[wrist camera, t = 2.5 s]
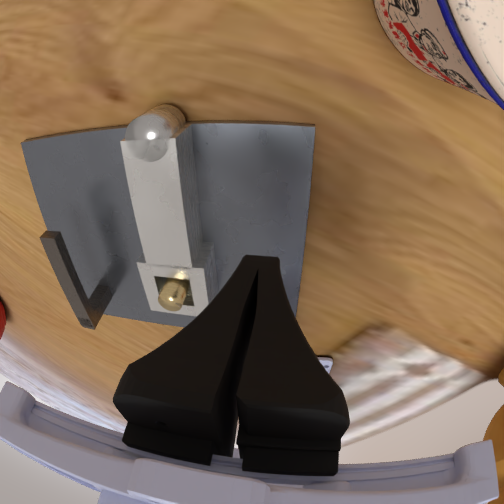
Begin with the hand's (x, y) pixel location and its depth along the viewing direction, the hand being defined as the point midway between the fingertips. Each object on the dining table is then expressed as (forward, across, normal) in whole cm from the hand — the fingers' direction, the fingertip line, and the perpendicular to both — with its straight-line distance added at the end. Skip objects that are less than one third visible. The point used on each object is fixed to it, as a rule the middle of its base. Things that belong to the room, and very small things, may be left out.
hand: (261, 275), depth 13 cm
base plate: (+7, +8, +4) cm, 12 cm away
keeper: (+7, +14, +6) cm, 17 cm away
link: (+7, +6, +1) cm, 9 cm away
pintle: (+7, +6, +6) cm, 11 cm away
